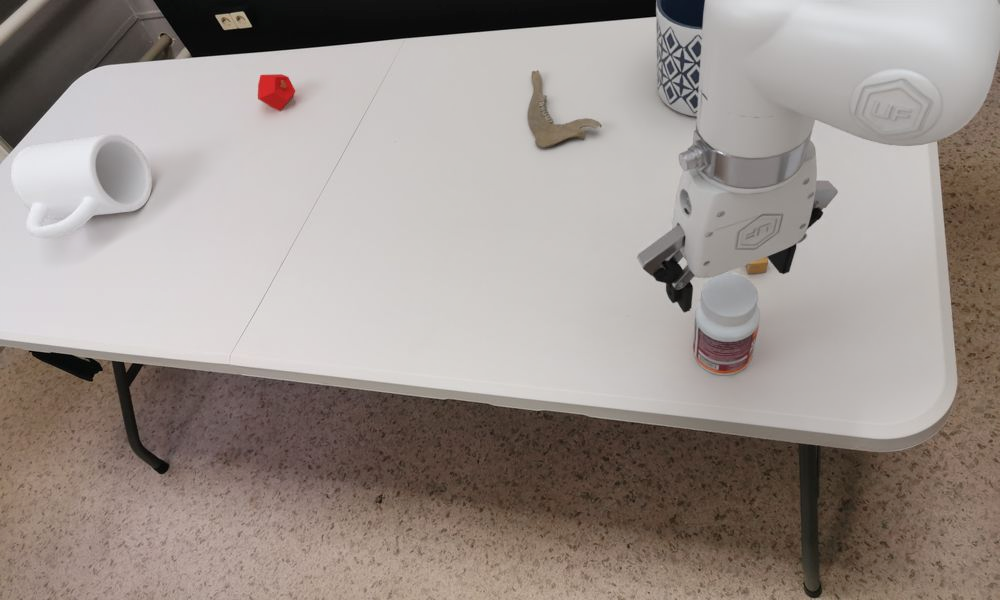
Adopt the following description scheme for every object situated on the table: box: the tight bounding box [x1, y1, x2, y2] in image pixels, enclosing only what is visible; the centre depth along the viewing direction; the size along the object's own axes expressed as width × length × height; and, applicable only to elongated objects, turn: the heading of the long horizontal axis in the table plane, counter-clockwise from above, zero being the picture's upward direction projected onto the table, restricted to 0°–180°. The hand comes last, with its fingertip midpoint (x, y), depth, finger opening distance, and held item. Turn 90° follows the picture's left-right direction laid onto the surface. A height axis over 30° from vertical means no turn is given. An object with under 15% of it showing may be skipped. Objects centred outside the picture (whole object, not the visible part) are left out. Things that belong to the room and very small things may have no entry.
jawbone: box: [527, 69, 602, 148], centre depth 96 cm, size 9×20×2 cm, turn 28°
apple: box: [257, 73, 296, 112], centre depth 113 cm, size 7×7×8 cm
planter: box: [655, 0, 705, 118], centre depth 87 cm, size 16×16×14 cm
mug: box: [10, 133, 153, 240], centre depth 103 cm, size 19×16×13 cm
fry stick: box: [745, 257, 769, 275], centre depth 75 cm, size 12×2×2 cm, turn 178°
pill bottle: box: [692, 272, 761, 376], centre depth 63 cm, size 6×6×11 cm
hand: (727, 281), depth 57 cm, fingers open, 9 cm apart
